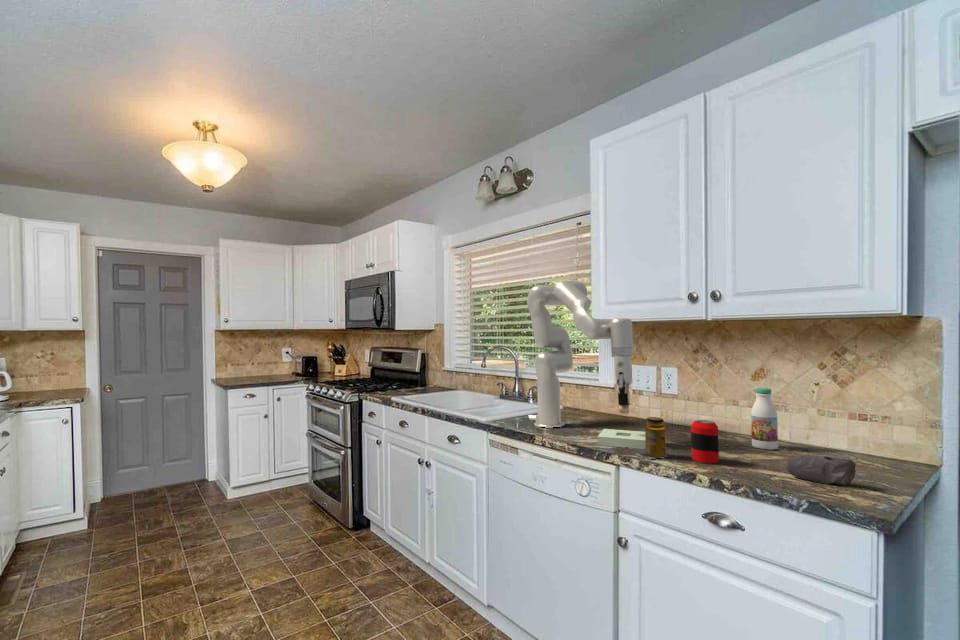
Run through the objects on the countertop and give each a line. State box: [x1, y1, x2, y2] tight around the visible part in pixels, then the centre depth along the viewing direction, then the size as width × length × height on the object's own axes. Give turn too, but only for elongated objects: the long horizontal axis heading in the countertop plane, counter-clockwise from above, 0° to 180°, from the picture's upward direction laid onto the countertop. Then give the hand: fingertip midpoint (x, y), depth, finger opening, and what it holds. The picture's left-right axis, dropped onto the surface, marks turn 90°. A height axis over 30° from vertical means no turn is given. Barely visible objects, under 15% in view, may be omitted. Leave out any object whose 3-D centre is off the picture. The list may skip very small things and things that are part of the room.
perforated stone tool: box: [785, 455, 857, 486], centre depth 124 cm, size 15×5×7 cm, turn 48°
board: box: [596, 428, 646, 450], centre depth 169 cm, size 16×14×3 cm
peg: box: [619, 384, 631, 414], centre depth 169 cm, size 4×4×10 cm
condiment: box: [635, 416, 667, 459], centre depth 151 cm, size 7×8×12 cm
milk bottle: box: [750, 387, 779, 451], centre depth 160 cm, size 8×8×20 cm
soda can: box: [690, 419, 720, 464], centre depth 145 cm, size 8×8×12 cm
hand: (624, 403), depth 169 cm, fingers closed on peg, 3 cm apart
